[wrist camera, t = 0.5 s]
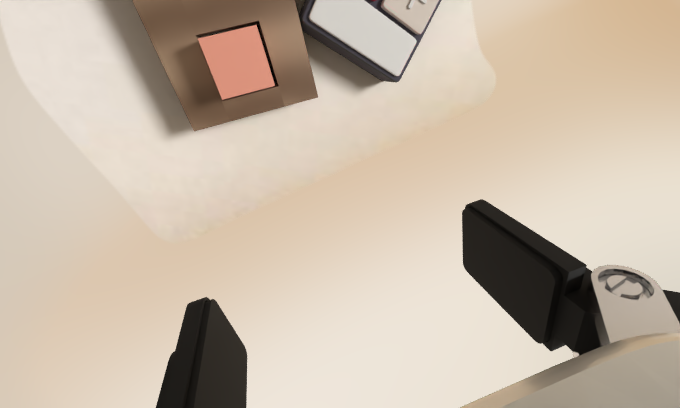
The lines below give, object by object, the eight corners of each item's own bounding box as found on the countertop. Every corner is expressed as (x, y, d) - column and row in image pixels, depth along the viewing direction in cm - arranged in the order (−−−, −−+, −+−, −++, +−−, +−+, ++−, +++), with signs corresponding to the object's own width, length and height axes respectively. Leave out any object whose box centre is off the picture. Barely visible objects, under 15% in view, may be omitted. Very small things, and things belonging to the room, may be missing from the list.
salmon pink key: (204, 40, 25) (197, 38, 22) (255, 27, 26) (256, 24, 23) (225, 93, 28) (222, 99, 24) (272, 81, 28) (275, 85, 25)
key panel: (84, -126, 21) (60, -151, 18) (251, -153, 22) (252, -179, 20) (199, 124, 30) (194, 131, 27) (312, 93, 31) (318, 97, 29)
